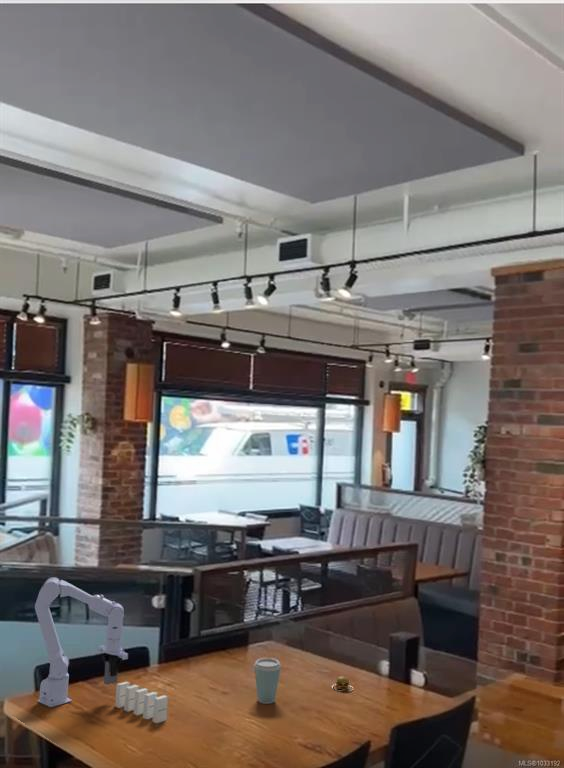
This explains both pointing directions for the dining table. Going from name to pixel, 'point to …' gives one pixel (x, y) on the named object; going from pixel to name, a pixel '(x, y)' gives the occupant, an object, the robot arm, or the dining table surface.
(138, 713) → the tile
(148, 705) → the tile
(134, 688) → the tile
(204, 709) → the dining table surface
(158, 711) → the tile
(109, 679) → the tile
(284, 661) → the dining table surface
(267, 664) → the disposable coffee cup
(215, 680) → the dining table surface
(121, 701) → the tile
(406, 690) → the dining table surface
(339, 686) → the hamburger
